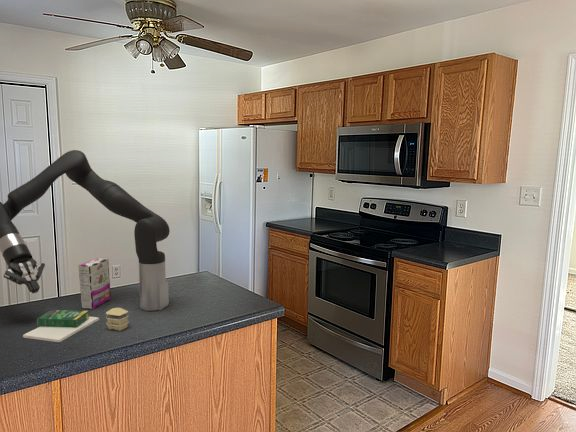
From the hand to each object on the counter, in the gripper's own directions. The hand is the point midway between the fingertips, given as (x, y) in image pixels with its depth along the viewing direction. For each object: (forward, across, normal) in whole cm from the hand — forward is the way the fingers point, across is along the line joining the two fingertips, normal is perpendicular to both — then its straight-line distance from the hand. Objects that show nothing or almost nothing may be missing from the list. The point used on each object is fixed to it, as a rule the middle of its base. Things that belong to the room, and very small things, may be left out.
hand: (35, 291), depth 138 cm
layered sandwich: (+25, -13, +9) cm, 29 cm away
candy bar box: (+7, -21, -9) cm, 24 cm away
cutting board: (+15, -2, 0) cm, 15 cm away
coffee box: (+8, -1, -4) cm, 9 cm away
